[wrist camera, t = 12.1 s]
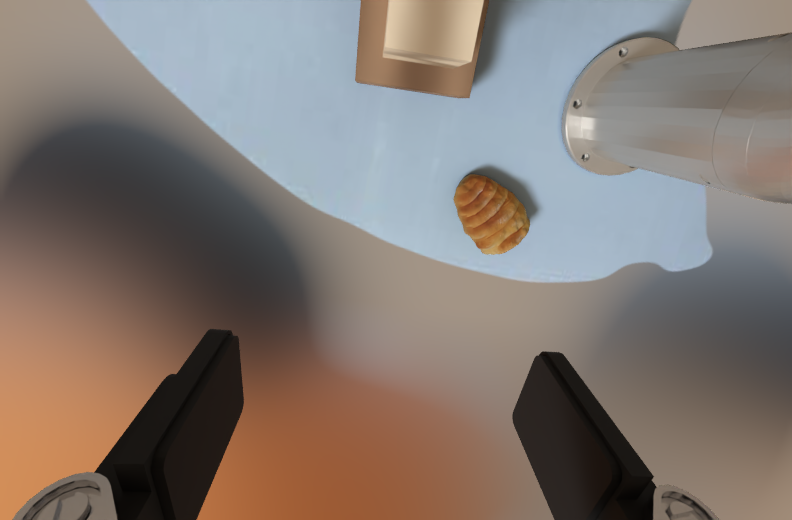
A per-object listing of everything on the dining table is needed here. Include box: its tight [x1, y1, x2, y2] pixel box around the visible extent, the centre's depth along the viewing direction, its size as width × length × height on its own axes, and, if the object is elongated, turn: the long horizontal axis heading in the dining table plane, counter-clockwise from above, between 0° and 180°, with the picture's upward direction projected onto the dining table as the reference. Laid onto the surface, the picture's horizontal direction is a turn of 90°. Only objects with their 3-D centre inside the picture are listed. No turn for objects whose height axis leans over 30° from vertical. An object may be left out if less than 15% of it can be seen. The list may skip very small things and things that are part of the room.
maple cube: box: [383, 0, 484, 69], centre depth 24 cm, size 6×6×6 cm
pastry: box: [454, 174, 530, 255], centre depth 37 cm, size 9×7×4 cm
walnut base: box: [355, 0, 489, 98], centre depth 29 cm, size 10×10×4 cm
